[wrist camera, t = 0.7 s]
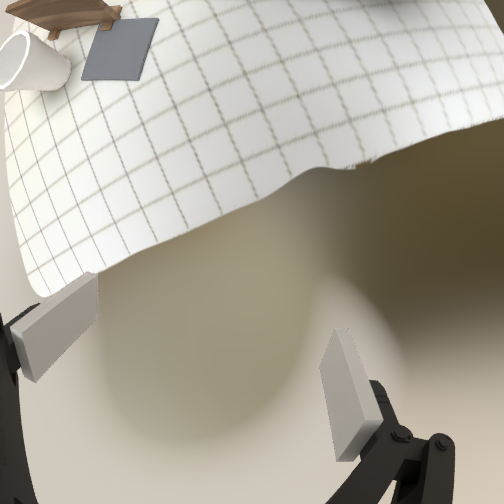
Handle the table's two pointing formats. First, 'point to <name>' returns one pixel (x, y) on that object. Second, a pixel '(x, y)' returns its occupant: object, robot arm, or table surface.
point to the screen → (65, 14)
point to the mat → (120, 50)
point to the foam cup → (31, 64)
